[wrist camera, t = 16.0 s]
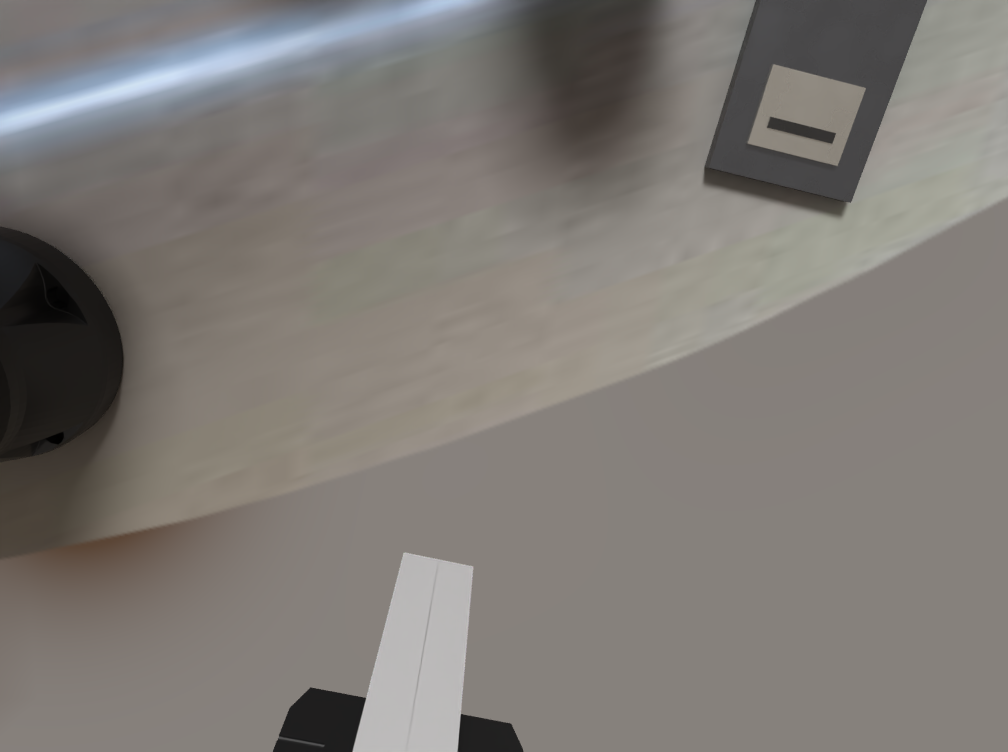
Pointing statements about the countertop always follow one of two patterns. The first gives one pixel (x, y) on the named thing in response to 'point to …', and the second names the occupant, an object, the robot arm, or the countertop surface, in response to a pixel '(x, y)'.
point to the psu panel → (812, 91)
